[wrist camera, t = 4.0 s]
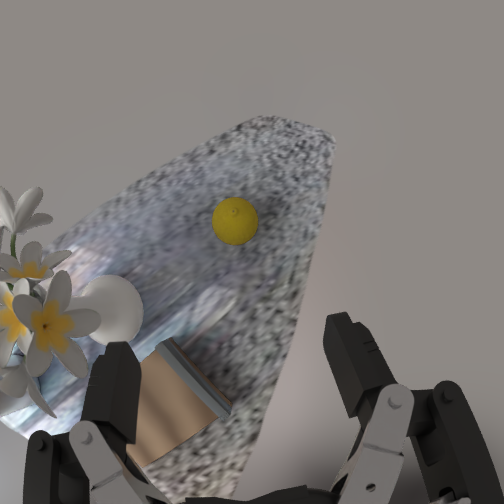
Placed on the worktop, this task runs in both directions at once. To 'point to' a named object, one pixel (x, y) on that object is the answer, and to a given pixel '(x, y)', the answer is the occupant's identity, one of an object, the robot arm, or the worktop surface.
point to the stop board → (172, 403)
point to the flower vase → (52, 306)
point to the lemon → (235, 221)
